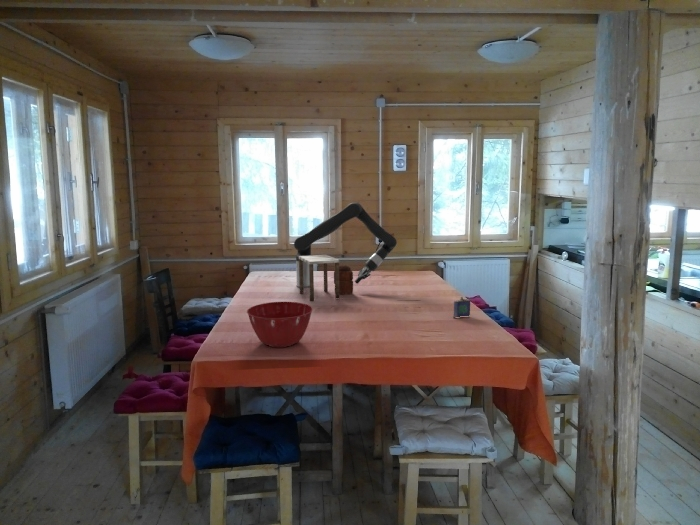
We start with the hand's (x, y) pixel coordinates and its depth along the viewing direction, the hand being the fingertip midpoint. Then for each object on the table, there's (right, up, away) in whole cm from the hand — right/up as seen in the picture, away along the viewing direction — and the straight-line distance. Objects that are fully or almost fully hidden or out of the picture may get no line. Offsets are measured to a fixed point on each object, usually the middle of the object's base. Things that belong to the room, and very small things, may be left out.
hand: (356, 282), depth 344 cm
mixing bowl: (-34, -23, -102) cm, 110 cm away
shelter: (-23, -8, -8) cm, 25 cm away
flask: (+54, -16, -61) cm, 83 cm away
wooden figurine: (-8, -7, -2) cm, 11 cm away
